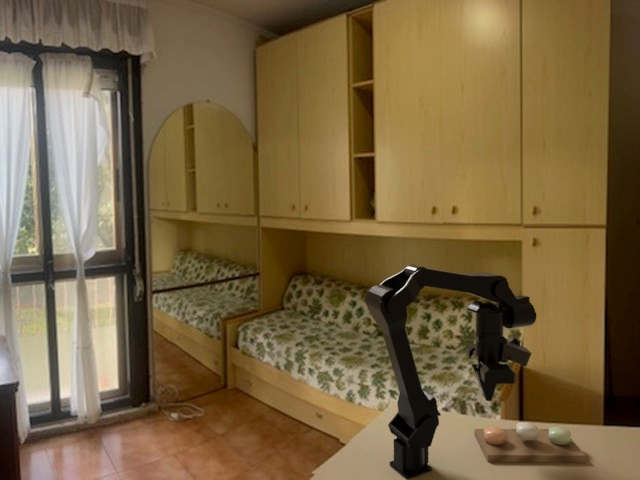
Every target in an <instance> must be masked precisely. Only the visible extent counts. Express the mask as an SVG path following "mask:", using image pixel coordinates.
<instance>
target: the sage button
mask: <svg viewBox="0 0 640 480" xmlns="http://www.w3.org/2000/svg"><path fill="white" fill-rule="evenodd" d="M548 429H549V440H550V441H551V442H553V443H555V444H559V445H567V444H570V441H571V440H572V438H571V435H572V433H571V431H570V430H569V429H567V428H565V427H561V426H551V427H549V428H548Z"/></svg>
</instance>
